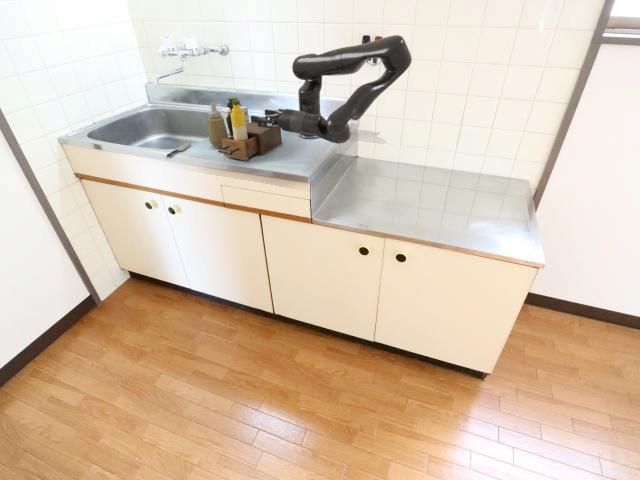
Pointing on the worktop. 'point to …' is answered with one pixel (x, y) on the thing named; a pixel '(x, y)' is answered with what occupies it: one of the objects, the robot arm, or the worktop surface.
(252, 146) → the drawer
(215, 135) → the squeeze bottle
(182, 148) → the chef's knife
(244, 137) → the lemon bottle
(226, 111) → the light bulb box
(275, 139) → the cabinet
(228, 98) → the potion bottle
